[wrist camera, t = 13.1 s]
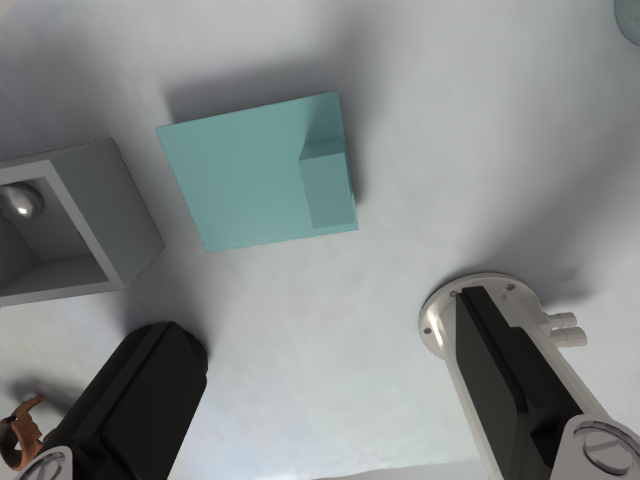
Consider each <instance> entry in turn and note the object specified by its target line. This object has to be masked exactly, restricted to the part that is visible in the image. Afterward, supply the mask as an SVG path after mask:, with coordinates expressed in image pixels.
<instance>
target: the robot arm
mask: <svg viewBox="0 0 640 480" xmlns="http://www.w3.org/2000/svg"><path fill="white" fill-rule="evenodd" d="M576 324H577V320H576V317H575V315H574V314H573V313H571V312H568V313H559V314H555V315H547V314H546V313H542V312H541V305H540V302H539V299H538V298H537V296H536V295H535V293H534V292H533V291H532V290H531V289H530V288H529V287H528V285H527V284H525V283H524V282H522V281H521V280H519V279H517V278H515V277H512V276H510V275H505V274H500V273H479V274H472V275H468V276H465V277H461V278H459V279H456V280H454V281H452V282H450V283H448V284H446V285H445V286H443V287H442V288H440V289H439V290H438V291H436V292H435V293H434V294H433V295H432V296H431V297H430V298H429V299H428V301H427V302H426V303H425V305H424V307H423V309H422V311H421V313H420V317H419V331H420V335H421V338H422V341H423V343H424V345H425V346H426V347H427V349H428V350H429V351H430V352H431V353H433V354H434V355H435V356H437V357H439V358H441V359H442V360H445V363H446V365H447V368H448V371H449V373H450V376H451V379H452V382H453V384H454V387H455V390H456V392H457V395H458V398H459V400H460V403H461V406H462V408H463V411H464V414H465V416H466V419H467V422H468V424H469V427H470V430H471V433H472V435H473V438H474V441H475V443H476V446H477V449H478V451H479V454H480V457H481V459H482V462H483V465H484V467H485V470H486V473H487V475H488V478H489V480H640V436H638V435H637V434H636V433H634V432H633V431H632V430H630V429H629V428H628V427H626V426H624V425H622V424H620V423H619V422H617V421H615V420H612V418H611V417H610V416H609V415H608V413H607V412H606V411H605V409H604V408H603V407H602V406H601V404H600V403H599V402H598V400H597V399H596V398H595V397H594V395H593V394H592V393H591V392H590V390H589V389H588V388H587V386H586V385H585V384H584V383H583V381H582V380H581V379H580V377H579V376H578V375H577V374H576V372H575V371H574V370H573V368H572V367H571V366H570V365H569V363H568V362H567V361H566V359H565V358H564V357H563V356H562V354H561V353H560V352H559V350H558V349H557V348H558V347H564V348H568V347H578V346H585V345H586V344H587V337H586V335H585V333H584V331H583V330H582V329H581V328H580V327H571V326H576ZM555 327H568V328H559V329H557V330H552V328H555ZM206 385H207V378H206V375H205V373H204V371H203V369H202V367H201V365H200V363H199V361H198V359H197V357H196V355H195V353H194V351H193V349H192V347H191V346H190V344H189V342H188V340H187V338H186V336H185V334H184V332H183V330H182V328H181V327H180V326H179V325H177V324H176V323H175V322H173V321H170V322H161V323H156V324H155V325H154V326H153V327H152V328H151V330H150V331H149V332H148V334H147V335H146V336H145V338H144V339H143V340H142V342H141V343H140V345H139V346H138V347H137V349H136V350H135V351H134V353H133V354H132V356H131V357H130V358H129V360H128V361H127V362H126V364H125V365H124V367H123V368H122V369H121V371H120V372H119V373H118V375H117V376H116V377H115V379H114V380H113V382H112V383H111V384H110V386H109V387H108V388H107V390H106V391H105V393H104V394H103V395H102V397H101V398H100V399H99V401H98V402H97V404H96V405H95V406H94V408H93V409H92V410H91V412H90V413H89V414H88V416H87V417H86V419H85V420H84V421H83V423H82V424H81V425H80V427H79V428H78V430H77V431H76V432H75V434H74V435H73V436H72V438H71V439H72V440H73V441H74V442H75V444H74V446H73V447H72V448H71V449H70V448H68V447H67V446H58V447H55V448H51V449H49V450H47V451H45V452H43V453H42V454H40V455H39V456H37V457H36V458H35V459H33V460H32V461H31V462H30V463H29V464H27V465H26V466H25V467H24V468H23V469H22V470H21V471H20V473H19V474H18V475H17V476H16V477H15V479H14V480H167V478H168V476H169V473H170V471H171V468H172V466H173V464H174V461H175V459H176V457H177V454H178V452H179V450H180V447H181V445H182V442H183V440H184V438H185V435H186V433H187V431H188V428H189V426H190V424H191V421H192V419H193V416H194V414H195V412H196V409H197V407H198V405H199V402H200V400H201V397H202V395H203V393H204V390H205V388H206Z"/></svg>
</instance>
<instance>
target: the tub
mask: <svg viewBox="0 0 640 480" xmlns="http://www.w3.org/2000/svg"><path fill="white" fill-rule="evenodd" d="M15 182H23V183H26V184H29V185H31V186H32V187H34V188H35V189H36V190H37V191H38V192H39V193H40V194H41V195H42V197H43V199H44V201H45V209H44V211H43V212H42V213H40V214H38V215H36V216H34V217H32V218H30V219H28V220H26V221H23V222H17V221H13V220H10V219H8V218H6V217H5V216H3V215H2V214H1V213H0V307H4V306H11V305H18V304H25V303H32V302H39V301H46V300H53V299H61V298H68V297H75V296H82V295H89V294H96V293H103V292H110V291H117V290H124V289H127V288H128V287H129V286H130V285H131V284H132V283H133V282H134V280H135V279H136V278H137V277H138V276H139V275H140V274H141V273H142V272H143V271H144V270H145V268H146V267H147V266H148V265H149V264H150V263H151V262H152V261H153V260H154V259H155V258H156V256H157V255H158V254H159V253H160V252H161V251H162V250H163V249H164V248H165V245H164V243H163V241H162V239H161V237H160V235H159V233H158V231H157V229H156V227H155V225H154V223H153V221H152V219H151V217H150V214H149V212H148V210H147V208H146V206H145V204H144V202H143V200H142V198H141V196H140V194H139V192H138V190H137V188H136V186H135V184H134V182H133V180H132V177H131V175H130V173H129V171H128V169H127V167H126V165H125V163H124V161H123V159H122V157H121V155H120V153H119V151H118V149H117V147H116V145H115V143H114V141H113V138H110V139H105V140H100V141H95V142H90V143H86V144H81V145H76V146H71V147H66V148H61V149H56V150H52V151H47V152H42V153H37V154H32V155H27V156H23V157H18V158H13V159H8V160H3V161H0V188H1V187H4V186H7V185H9V184H12V183H15ZM78 231H79V232H80V234H81V236H82V237H83V239H84V240H85V242H86V243H85V242H84V241H83V240H82V239H81V237H80V235H79V232H78Z"/></svg>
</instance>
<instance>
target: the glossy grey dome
mask: <svg viewBox="0 0 640 480" xmlns="http://www.w3.org/2000/svg"><path fill="white" fill-rule="evenodd" d="M44 209H45V201H44V199H43V197H42V195H41V194H40V193H39V192H38V191H37V190H36V189H35V188H34V187H32V186H31V185H29V184H26V183H23V182H15V183H12V184H9V185H7V186H4V187H1V188H0V213H1V214H2V215H3V216H5V217H6V218H8V219H10V220H13V221H17V222H23V221H26V220H28V219H30V218H32V217H34V216H36V215H38V214H40V213H42V212H43V211H44Z"/></svg>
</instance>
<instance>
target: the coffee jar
mask: <svg viewBox="0 0 640 480" xmlns="http://www.w3.org/2000/svg"><path fill="white" fill-rule="evenodd" d="M153 326H154V325H149V326H146V327H143V328H140V329H138V330H135V331H133V332H131V333H130V334H128V335H127V336H126V337H125V339H124V340H123V341H122V342H121V343H120V345H119V346H118V347H117V349H116V350H115V351H114V353H113V354H112V355H111V357H110V358H109V359H108V361H107V362H106V363H105V364H104V366H103V367H102V368H101V370H100V371H99V372H98V374H97V375H96V376H95V378H94V379H93V380H92V382H91V383H90V384H89V386H88V387H87V388H86V389H85V391H84V392H83V393H82V395H81V396H80V397H79V399H78V400H77V401H76V403H75V404H74V405H73V407H72V408H71V409H70V411H69V412H68V413H67V414H66V416H65V417H64V418H63V420H62V421H61V422H60V424H59V425H58V426H57V428H56V429H55V430H54V432H53V433H52V434H51V435H50V437H49V438H48V439H47V441H46V442H45V443H44V445H43V446H42V447H41V449H40V450H39V451H38V453H37V454H36V455H35V457H34V458H33V459H35V458H36V457H37V456H39V455H40V454H42V453H43V452H45V451H47V450H49V449H51V448H55V447H58V446H67V447H68V448H70V449H71V448H72V447H73V446H74V444H75V442H74V441H73V440H72V439H71V438H72V436H73V435H74V434H75V432H76V431H77V430H78V428H79V427H80V425H81V424H82V423H83V421H84V420H85V419H86V417H87V416H88V414H89V413H90V412H91V410H92V409H93V408H94V406H95V405H96V404H97V402H98V401H99V399H100V398H101V397H102V395H103V394H104V393H105V391H106V390H107V388H108V387H109V386H110V384H111V383H112V382H113V380H114V379H115V377H116V376H117V375H118V373H119V372H120V371H121V369H122V368H123V367H124V365H125V364H126V362H127V361H128V360H129V358H130V357H131V356H132V354H133V353H134V351H135V350H136V349H137V347H138V346H139V345H140V343H141V342H142V340H143V339H144V338H145V336H146V335H147V334H148V332H149V331H150V330H151V328H152V327H153ZM183 332H184V334H185V336H186V338H187V340H188V342H189V344H190V346H191V347H192V349H193V351H194V353H195V355H196V357H197V359H198V361H199V363H200V365H201V367H202V369H203V371H204V373H205V375H206V373H207V371H208V361H207V356H206V352H205V350H204V348H203V346H202V344H201V343H200V342H199V341H198V340H197V339H196V338H195V337H194V336H193V335H191V334H189V333H188V332H186V331H184V330H183ZM33 459H32V460H33ZM32 460H31V461H32Z"/></svg>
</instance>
